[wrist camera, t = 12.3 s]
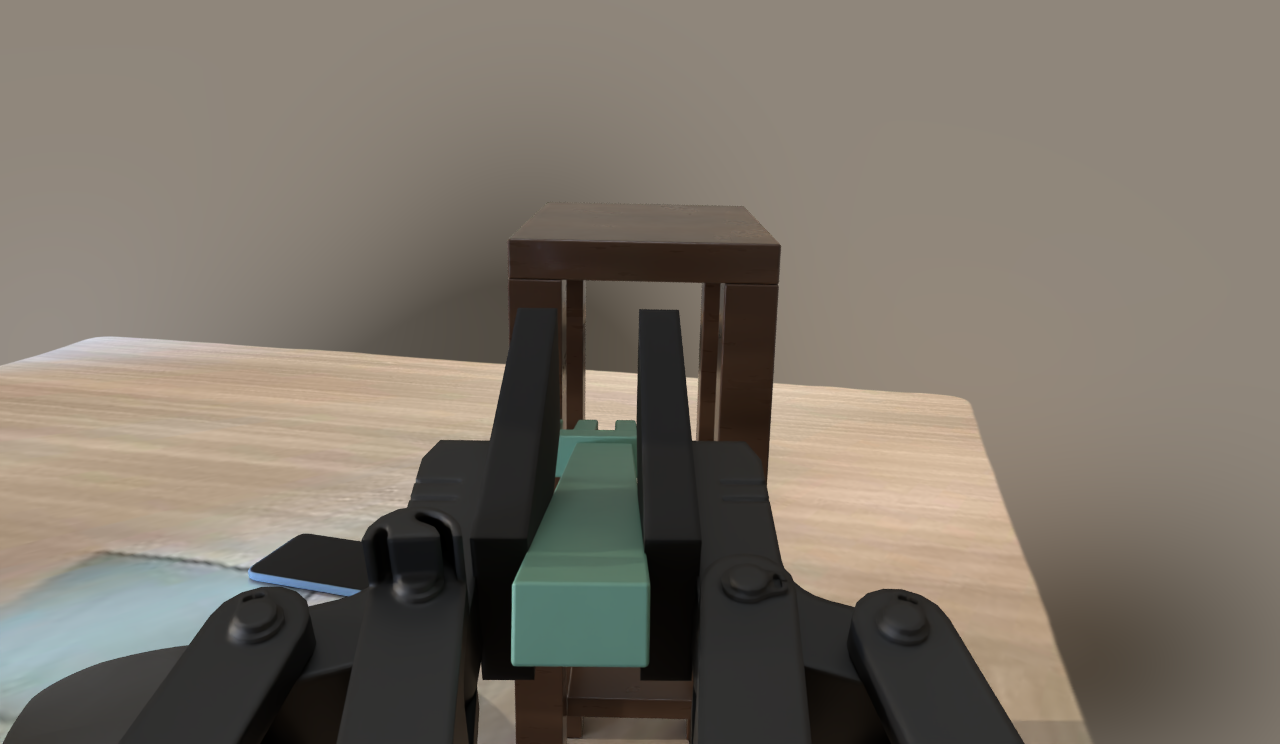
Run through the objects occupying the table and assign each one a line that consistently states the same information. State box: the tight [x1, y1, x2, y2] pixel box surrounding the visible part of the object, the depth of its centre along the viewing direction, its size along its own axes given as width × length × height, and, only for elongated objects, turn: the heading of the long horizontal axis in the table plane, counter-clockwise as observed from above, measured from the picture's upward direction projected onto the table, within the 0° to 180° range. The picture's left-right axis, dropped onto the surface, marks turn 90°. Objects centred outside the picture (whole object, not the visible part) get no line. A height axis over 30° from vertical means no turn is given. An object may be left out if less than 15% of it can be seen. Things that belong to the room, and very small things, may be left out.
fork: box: [511, 419, 650, 667], centre depth 22 cm, size 22×4×1 cm, turn 2°
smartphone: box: [248, 534, 369, 596], centre depth 72 cm, size 7×1×15 cm
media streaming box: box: [3, 645, 189, 744], centre depth 51 cm, size 15×15×3 cm
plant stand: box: [507, 202, 781, 744], centre depth 45 cm, size 14×10×30 cm
